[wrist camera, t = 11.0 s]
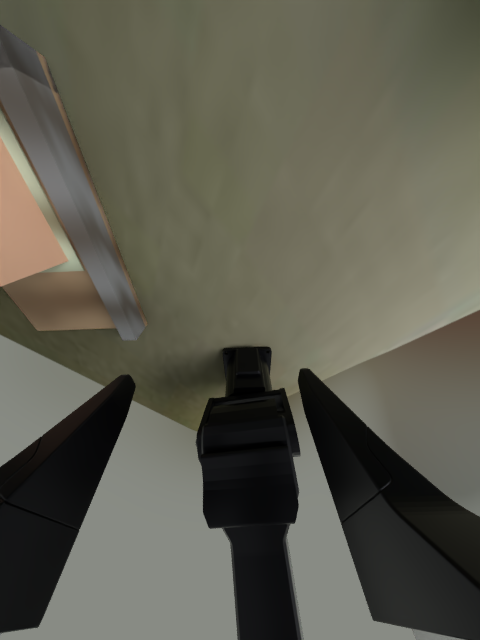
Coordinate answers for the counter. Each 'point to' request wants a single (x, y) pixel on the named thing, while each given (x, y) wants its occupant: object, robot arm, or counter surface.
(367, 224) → the counter surface
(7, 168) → the terracotta block
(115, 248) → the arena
